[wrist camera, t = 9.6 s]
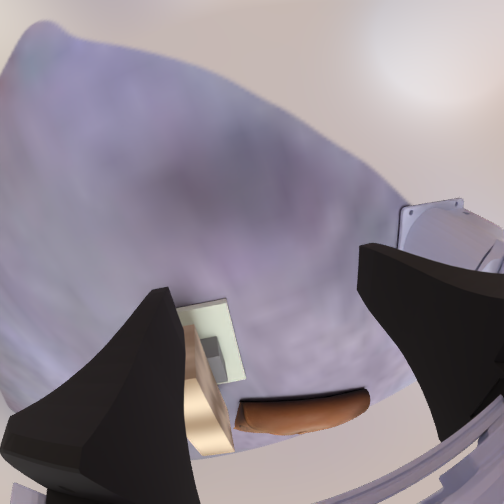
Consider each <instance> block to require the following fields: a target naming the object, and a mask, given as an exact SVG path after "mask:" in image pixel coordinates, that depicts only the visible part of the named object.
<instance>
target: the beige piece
mask: <svg viewBox="0 0 504 504" xmlns="http://www.w3.org/2000/svg"><path fill="white" fill-rule="evenodd" d="M183 329H184V337H185V350H186V361H185V386H184V418H185V427H186V435H187V438H188V439H189V441H190V442H191V443H192V444H193V445H194V447H195V448H196V449H197V450H198V451H199V452H200V454H201V455H202V456H207V455H215V454H223V453H230V452H235V450H234V444H233V439H232V433H231V427H230V421H229V415H228V409H227V407H226V405H225V402H224V400H223V398H222V395H221V393H220V390H219V388H218V386H217V383H216V381H215V378H214V376H213V373H212V371H211V368H210V366H209V363H208V360H207V358H206V355H205V352H204V350H203V347H202V344H201V342H200V339H199V336H198V333H197V331H196V328H195V325H194V324H192V325H187V326H183Z"/></svg>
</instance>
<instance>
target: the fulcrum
mask: <svg viewBox="0 0 504 504" xmlns="http://www.w3.org/2000/svg"><path fill="white" fill-rule="evenodd" d="M176 310H177V313H178V316H179V318H180V321H181V324H182V326H187V325H192V324H194V325H195V328H196V331H197V333H198V336H199V339H200V342H201V344H202V347H203V350H204V352H205V355H206V358H207V360H208V363H209V366H210V368H211V371H212V373H213V376H214V378H215V381H216V383H217V385H218V384H223V383H229V382H234V381H239V380H244V379H246V376H245V372H244V368H243V365H242V361H241V357H240V353H239V349H238V345H237V341H236V337H235V333H234V329H233V325H232V321H231V317H230V313H229V309H228V305H227V301H226V299H221V300H216V301H211V302H206V303H201V304H196V305H190V306H185V307H180V308H176Z"/></svg>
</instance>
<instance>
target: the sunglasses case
mask: <svg viewBox="0 0 504 504" xmlns="http://www.w3.org/2000/svg"><path fill="white" fill-rule="evenodd" d="M369 405H370V395H369V392H368V391H367V389H361V390H358V391H353V392H349V393H344V394H342V395H335V396H332V397H328V398H315V399H306V400H299V401H280V402H256V403H255V402H245V403H243V402H241V401H240V404H239V408H238V411H237V416H236V419H235V428H234V429H237V430H240V431H244V432H253V433H270V434H274V435H293V434H304V433H308V432H314V431H318V430H323V429H328V428H332V427H335V426H338V425H340V424H343V423H345V422H348V421H350V420H352V419H354V418H356V417H357V416H359V415H361V414H362V413H364V412H365V411H366V410H367V409H368V407H369Z"/></svg>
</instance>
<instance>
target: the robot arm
mask: <svg viewBox="0 0 504 504" xmlns="http://www.w3.org/2000/svg"><path fill="white" fill-rule="evenodd" d="M463 205H464V201H463V199H462V198H456V199H450V200H443V201H437V202H432V203H425V204H419V205H413V206H407V207H404V208H403V209H402V210H401V218H400V232H399V243H398V249H396V248H393V247H389V246H386V245H382V244H377V243H369V244H365V245H360V246H359V266H358V281H357V291H358V293H359V295H360V296H361V298H362V300H363V302H364V303H365V305H366V306H367V308H368V310H369V311H370V312H371V313H372V315H373V316H374V317H375V319H376V320H377V321H378V322H379V324H380V325H381V326H382V327H383V329H384V330H385V331H386V332H387V334H388V335H389V336H390V337H391V339H392V340H393V341H394V343H395V344H396V345H397V346H398V348H399V349H400V351H401V352H402V354H403V355H404V357H405V359H406V360H407V362H408V364H409V366H410V367H411V369H412V371H413V373H414V375H415V377H416V379H417V381H418V383H419V384H420V387H421V389H422V391H423V393H424V396H425V398H426V401H427V403H428V406H429V408H430V411H431V414H432V417H433V420H434V423H435V426H436V429H437V433H438V437H439V440H440V441H441V443H440V444H439V445H437V446H436V447H434V448H433V449H431V450H429V451H428V452H426V453H425V454H423V455H421V456H420V457H418V458H417V459H415V460H413V461H411V462H410V463H408V464H406V465H404V466H402V467H400V468H399V469H397V470H395V471H393V472H391V473H389V474H387V475H385V476H383V477H381V478H379V479H377V480H374V481H372V482H370V483H368V484H365V485H363V486H361V487H358V488H356V489H353V490H351V491H348V492H346V493H343V494H340V495H337V496H335V497H332V498H329V499H326V500H323V501H319V502H316V503H313V504H377V503H379V502H381V501H383V500H385V499H387V498H389V497H391V496H393V495H395V494H397V493H399V492H400V491H403V490H405V489H406V488H408V487H410V486H411V485H413V484H415V483H417V482H418V481H420V480H422V479H423V478H425V477H426V476H428V475H430V474H431V473H432V472H434V471H436V470H437V469H439V468H440V467H442V466H443V465H444V464H446V463H447V462H449V461H450V460H451V459H453V458H454V457H455V456H457V455H458V454H459V453H461V452H462V451H463V450H465V449H466V448H467V447H468V446H470V445H471V444H472V443H473V442H474V441H475V440H477V439H478V438H479V439H478V445H477V448H476V449H475V450H473V451H472V452H471V453H470V454H469V455H467V456H466V457H465V458H464V459H463V460H461V461H460V462H459V463H458V464H456V465H455V466H453V467H452V468H451V469H449V470H448V471H447V472H445V473H444V474H442V475H441V476H440V478H439V480H440V482H441V483H442V485H443V488H441V489H440V490H438V491H437V492H435V493H434V494H432V495H430V496H429V497H427V498H426V499H424V500H423V501H421V502H419V503H417V504H504V230H503V229H502V228H501V227H500V226H498V225H496V224H494V223H492V222H490V221H488V220H486V219H484V218H483V217H480V216H478V215H476V214H474V213H472V212H470V211H468V210H466V209H464V208H463ZM410 210H411V211H410ZM409 212H410V213H409ZM185 361H186V350H185V337H184V329H183V326H182V324H181V321H180V318H179V316H178V313H177V310H176V308H175V305H174V302H173V299H172V296H171V294H170V291H169V288H168V287H164V288H159V289H154V290H151V292H150V293H149V294H148V295H147V296H146V297H145V299H144V300H143V301H142V302H141V304H140V305H139V306H138V307H137V309H136V310H135V311H134V312H133V314H132V315H131V316H130V317H129V319H128V320H127V321H126V322H125V324H124V325H123V326H122V327H121V328H120V330H119V331H118V332H117V333H116V334H115V335H114V336H113V338H112V339H111V340H110V341H109V342H108V343H107V345H106V346H105V347H104V348H103V349H102V350H101V351H100V352H99V353H98V354H97V355H96V356H95V357H94V358H93V359H92V360H91V361H90V362H89V363H88V364H86V365H85V366H84V367H83V368H82V369H81V370H79V371H78V372H77V373H76V374H75V375H73V376H72V377H71V378H70V379H69V380H67V381H66V382H65V383H64V384H62V385H61V386H60V387H58V388H57V389H55V390H54V391H53V392H51V393H50V394H48V395H47V396H45V397H44V398H42V399H41V400H39V401H37V402H36V403H34V404H32V405H30V406H29V407H27V408H25V409H23V410H21V411H19V412H18V413H16V414H14V415H12V416H10V418H9V420H8V423H7V426H6V430H5V433H4V436H3V439H2V442H1V446H0V454H1V455H2V457H3V458H4V459H5V460H6V461H7V462H8V463H9V464H10V465H12V466H13V467H14V468H16V469H17V470H19V471H20V472H21V473H23V474H24V475H26V476H28V477H29V478H31V479H32V480H34V481H35V482H37V483H39V484H40V485H42V486H44V487H46V488H47V495H44V494H41V493H39V492H37V491H35V490H32V489H30V488H27V487H25V486H22V485H20V484H18V483H13V487H12V494H11V501H10V504H200V500H199V496H198V493H197V489H196V485H195V480H194V476H193V471H192V466H191V461H190V455H189V449H188V443H187V435H186V427H185V418H184V386H185Z"/></svg>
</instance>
